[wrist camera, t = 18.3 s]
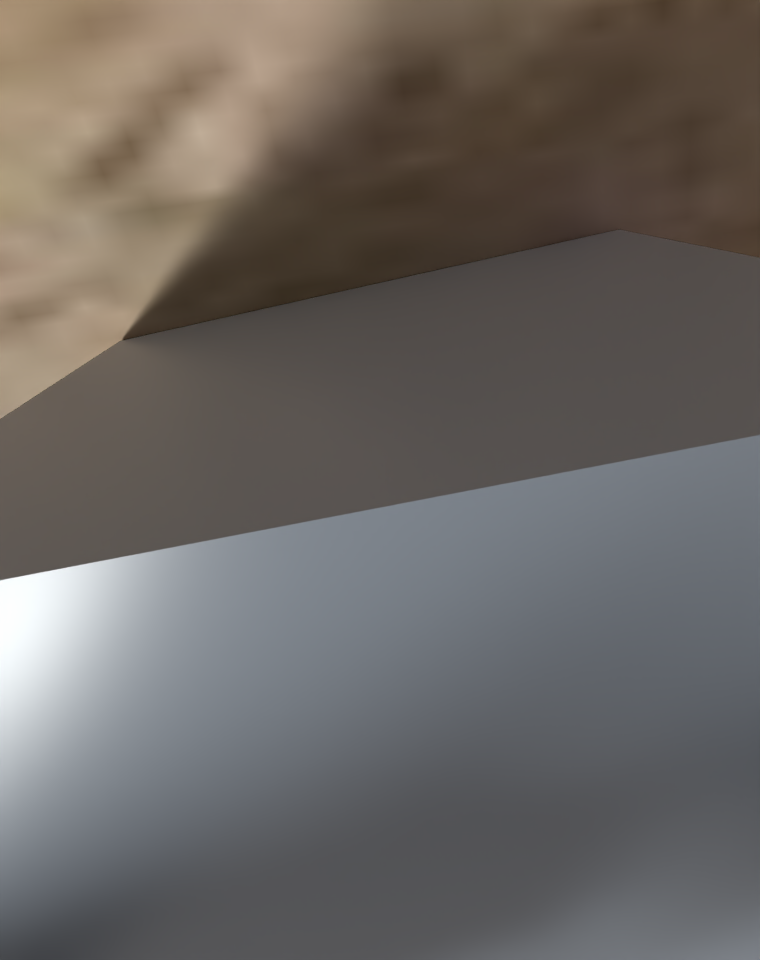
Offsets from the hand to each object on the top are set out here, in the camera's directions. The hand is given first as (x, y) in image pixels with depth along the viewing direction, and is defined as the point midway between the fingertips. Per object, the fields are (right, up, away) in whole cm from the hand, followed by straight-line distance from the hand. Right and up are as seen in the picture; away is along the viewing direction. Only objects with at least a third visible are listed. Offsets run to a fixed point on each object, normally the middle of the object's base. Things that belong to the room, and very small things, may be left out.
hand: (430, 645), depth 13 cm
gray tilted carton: (0, +3, +1) cm, 3 cm away
